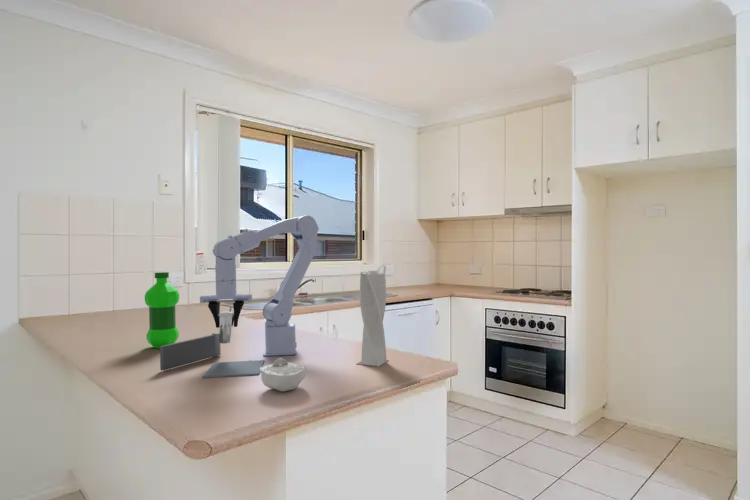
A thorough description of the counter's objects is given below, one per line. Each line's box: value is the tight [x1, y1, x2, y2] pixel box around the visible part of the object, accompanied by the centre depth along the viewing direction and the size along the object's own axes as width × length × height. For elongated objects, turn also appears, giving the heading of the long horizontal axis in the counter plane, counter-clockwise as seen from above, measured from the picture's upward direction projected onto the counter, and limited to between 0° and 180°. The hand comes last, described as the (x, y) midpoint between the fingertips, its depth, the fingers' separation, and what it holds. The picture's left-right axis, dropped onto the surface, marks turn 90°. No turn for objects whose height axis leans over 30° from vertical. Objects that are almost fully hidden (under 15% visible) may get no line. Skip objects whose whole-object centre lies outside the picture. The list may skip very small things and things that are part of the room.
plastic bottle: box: [144, 271, 180, 349], centre depth 154 cm, size 10×10×25 cm
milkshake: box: [218, 306, 234, 344], centre depth 135 cm, size 5×5×10 cm
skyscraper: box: [356, 264, 390, 368], centre depth 129 cm, size 8×8×28 cm
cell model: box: [260, 357, 306, 392], centre depth 107 cm, size 10×12×7 cm
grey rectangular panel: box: [159, 332, 222, 371], centre depth 132 cm, size 2×20×7 cm, turn 151°
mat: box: [201, 359, 265, 379], centre depth 125 cm, size 14×14×1 cm
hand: (226, 326), depth 135 cm, fingers closed on milkshake, 4 cm apart
